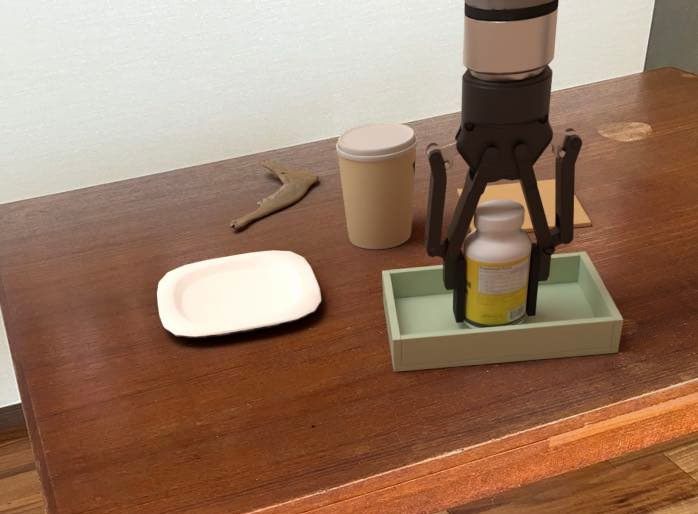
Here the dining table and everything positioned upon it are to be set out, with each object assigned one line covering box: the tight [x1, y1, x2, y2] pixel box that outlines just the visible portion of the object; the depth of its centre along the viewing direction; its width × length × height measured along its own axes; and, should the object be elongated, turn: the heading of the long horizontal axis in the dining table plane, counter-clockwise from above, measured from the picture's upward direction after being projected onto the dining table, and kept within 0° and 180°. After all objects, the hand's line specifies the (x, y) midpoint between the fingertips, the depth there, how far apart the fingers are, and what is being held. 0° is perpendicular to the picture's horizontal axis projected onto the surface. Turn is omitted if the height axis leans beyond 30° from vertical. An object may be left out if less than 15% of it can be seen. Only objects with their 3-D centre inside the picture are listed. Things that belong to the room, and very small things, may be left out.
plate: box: [156, 249, 322, 339], centre depth 100 cm, size 18×18×2 cm
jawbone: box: [229, 159, 319, 230], centre depth 120 cm, size 9×20×2 cm, turn 169°
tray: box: [381, 251, 624, 373], centre depth 90 cm, size 22×15×4 cm
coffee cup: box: [335, 122, 418, 250], centre depth 106 cm, size 9×9×12 cm
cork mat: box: [457, 178, 592, 233], centre depth 111 cm, size 14×14×1 cm
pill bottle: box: [462, 200, 532, 329], centre depth 87 cm, size 6×6×12 cm
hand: (493, 312), depth 90 cm, fingers closed on pill bottle, 6 cm apart
